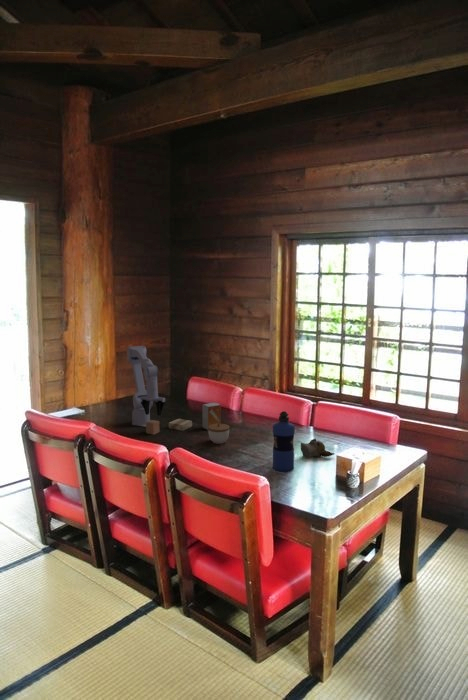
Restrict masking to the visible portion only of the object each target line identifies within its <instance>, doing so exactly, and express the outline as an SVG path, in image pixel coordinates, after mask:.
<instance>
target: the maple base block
mask: <svg viewBox="0 0 468 700" xmlns="http://www.w3.org/2000/svg"><path fill="white" fill-rule="evenodd" d="M191 427H193V421H192V420H189V419H182V418H177V419H174V420H172V421H170V422H168V429H171V430H176V431H182V432H183V431H186V430H187V429H190V428H191Z"/></svg>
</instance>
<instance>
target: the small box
mask: <svg viewBox="0 0 468 700" xmlns="http://www.w3.org/2000/svg"><path fill="white" fill-rule="evenodd" d="M221 407H222V404H220V403H218V402H209V403H205V404H202V428H203V429H205V430H207V431H208V426H209V425H212V424H218V423H220V424H222V423H221V421H222V420H221V417H222V415H221V414H222V410H221V409H222V408H221Z"/></svg>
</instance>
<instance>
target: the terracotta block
mask: <svg viewBox="0 0 468 700" xmlns="http://www.w3.org/2000/svg"><path fill="white" fill-rule="evenodd" d="M160 432H161V431H160V420H155V419H150V421H147V422H146V426H145V433H146V434H149V435H156V434H158V433H160Z"/></svg>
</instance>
